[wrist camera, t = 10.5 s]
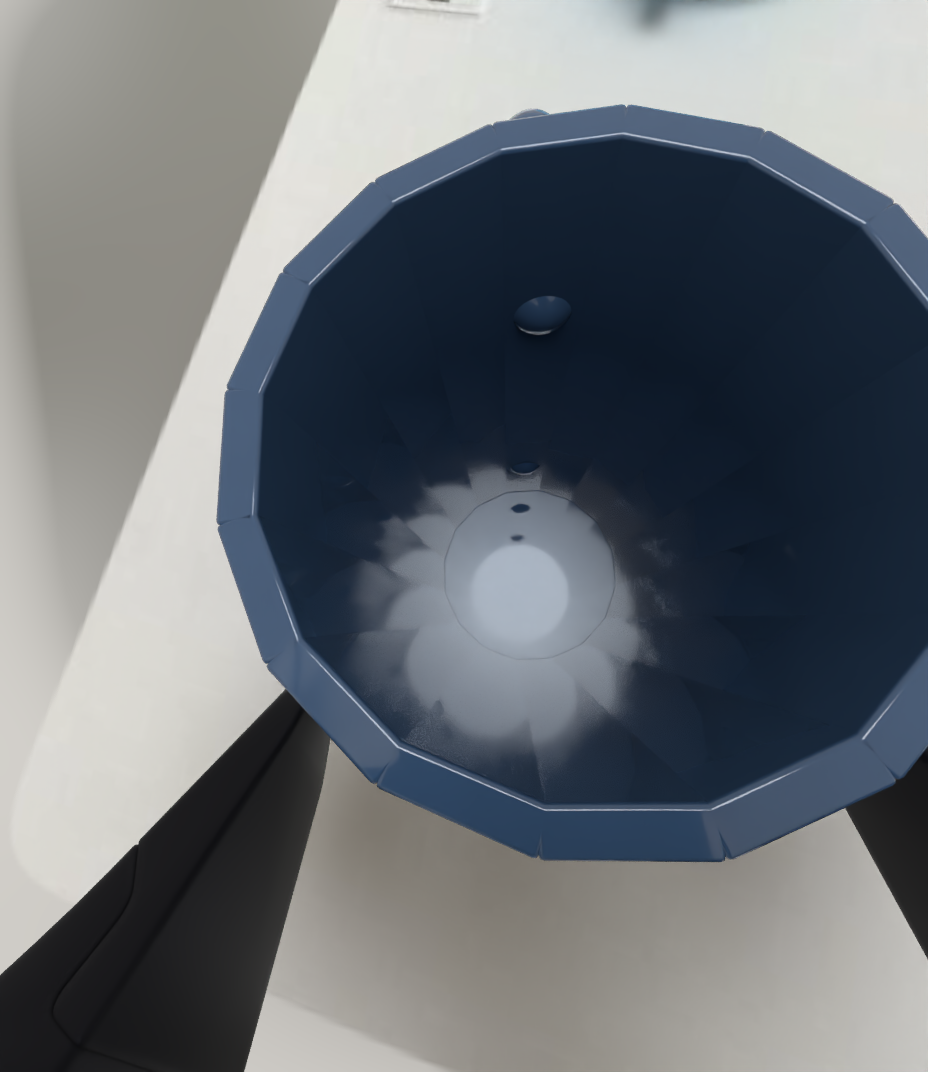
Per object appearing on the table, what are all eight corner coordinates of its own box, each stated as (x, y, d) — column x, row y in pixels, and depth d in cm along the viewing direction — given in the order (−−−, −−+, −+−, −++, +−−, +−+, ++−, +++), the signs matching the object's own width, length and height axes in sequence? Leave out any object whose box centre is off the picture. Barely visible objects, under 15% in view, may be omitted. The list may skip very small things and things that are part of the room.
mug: (631, 665, 16) (1161, 868, 3) (439, 671, 16) (190, 862, 4) (603, 401, 18) (856, -175, 5) (432, 415, 18) (251, -65, 5)
